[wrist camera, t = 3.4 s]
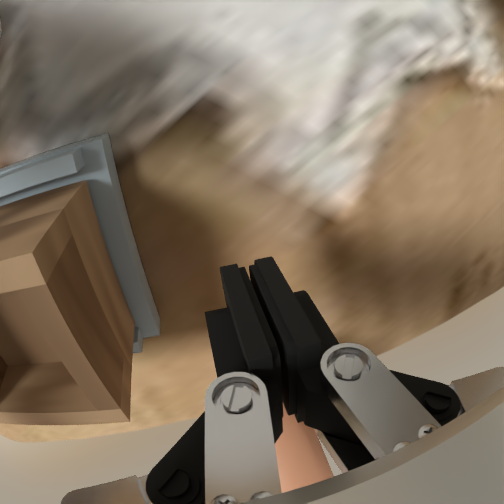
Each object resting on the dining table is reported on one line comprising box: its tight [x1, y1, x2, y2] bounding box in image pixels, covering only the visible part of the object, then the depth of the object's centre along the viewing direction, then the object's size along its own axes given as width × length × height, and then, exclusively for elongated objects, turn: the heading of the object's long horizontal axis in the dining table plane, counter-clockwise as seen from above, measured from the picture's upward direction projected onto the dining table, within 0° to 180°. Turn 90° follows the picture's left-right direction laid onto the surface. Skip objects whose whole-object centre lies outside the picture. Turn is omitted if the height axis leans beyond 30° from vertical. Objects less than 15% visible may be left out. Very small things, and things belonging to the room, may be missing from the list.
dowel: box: [275, 404, 334, 493], centre depth 16 cm, size 4×4×12 cm
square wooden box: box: [0, 180, 135, 425], centre depth 11 cm, size 8×8×6 cm
